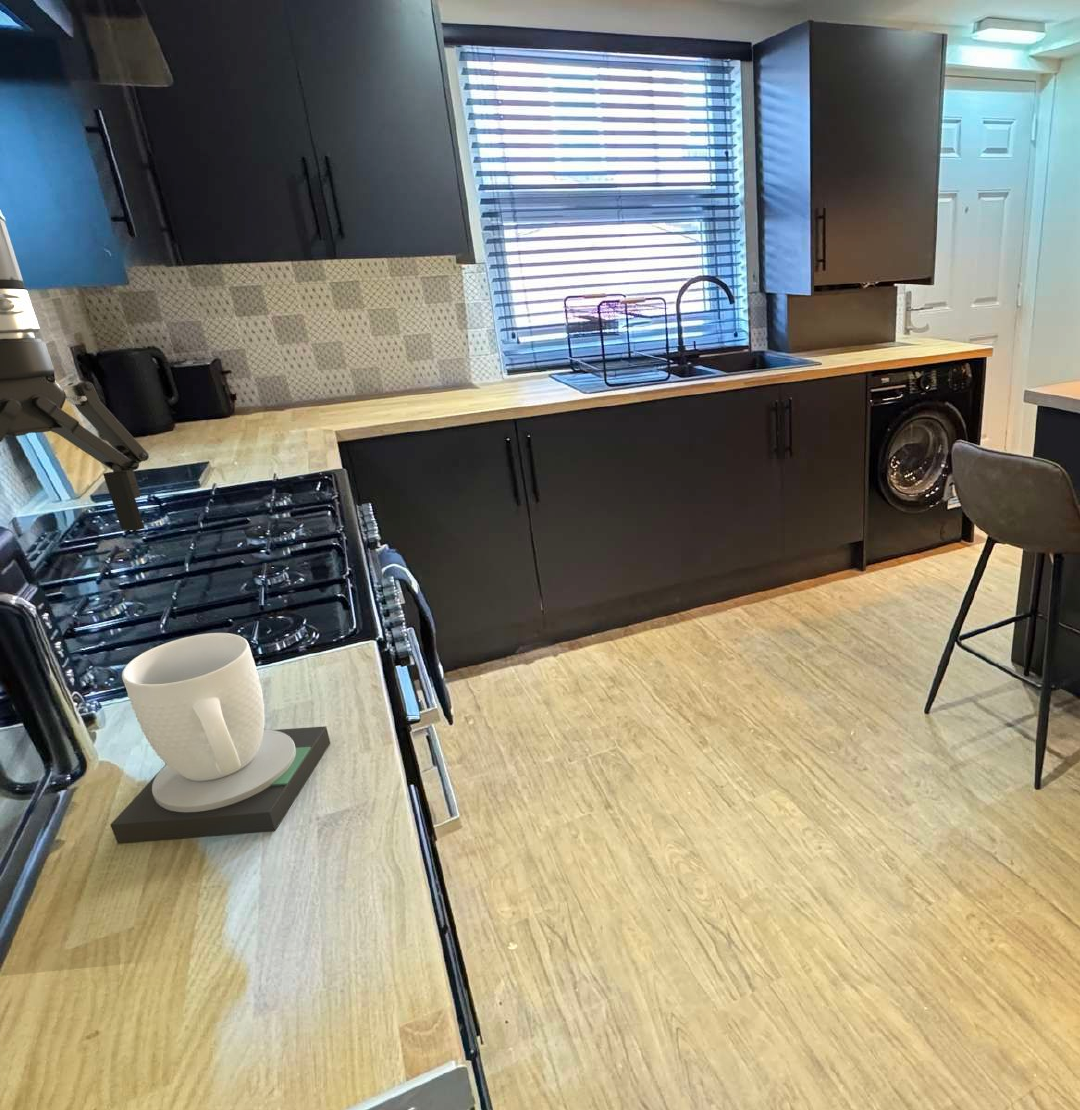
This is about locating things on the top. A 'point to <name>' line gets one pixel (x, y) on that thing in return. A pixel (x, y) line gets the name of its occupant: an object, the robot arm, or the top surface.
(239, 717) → the mug
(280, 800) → the scale
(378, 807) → the top surface
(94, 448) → the robot arm
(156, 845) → the top surface
